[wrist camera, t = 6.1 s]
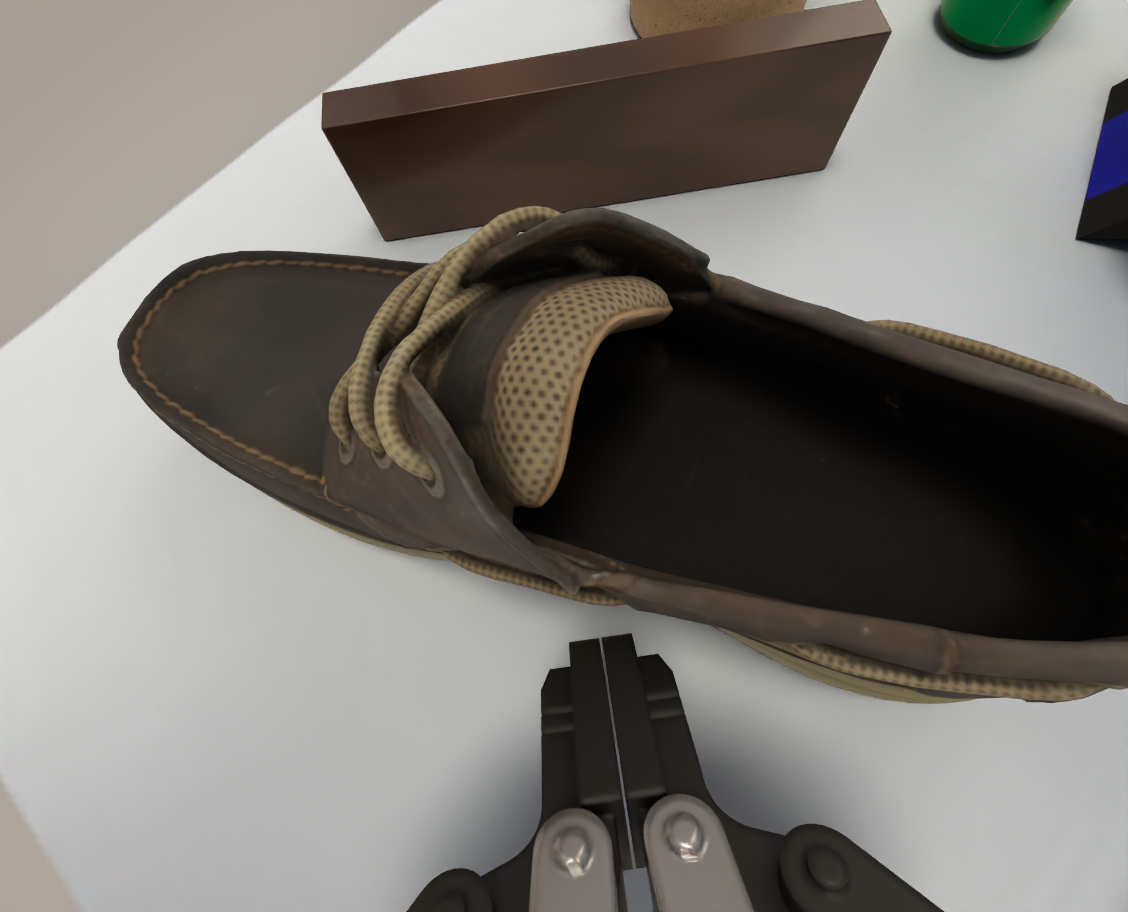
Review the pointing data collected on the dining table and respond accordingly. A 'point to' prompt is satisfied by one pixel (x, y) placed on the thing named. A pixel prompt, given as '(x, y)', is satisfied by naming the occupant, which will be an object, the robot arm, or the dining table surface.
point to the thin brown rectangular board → (606, 120)
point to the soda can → (1000, 22)
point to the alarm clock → (1109, 175)
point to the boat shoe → (670, 448)
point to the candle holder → (702, 13)
